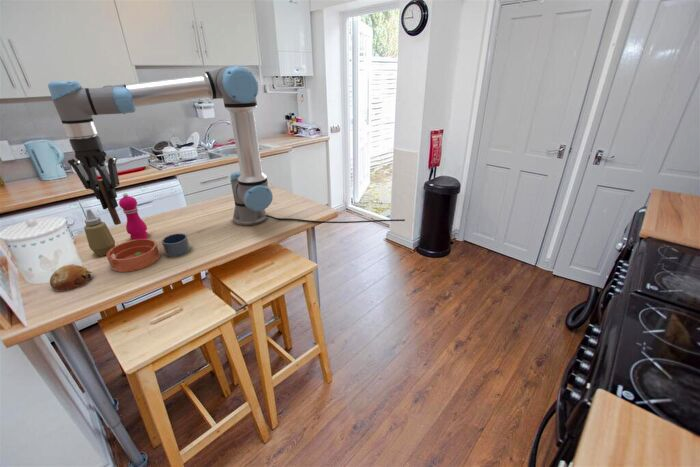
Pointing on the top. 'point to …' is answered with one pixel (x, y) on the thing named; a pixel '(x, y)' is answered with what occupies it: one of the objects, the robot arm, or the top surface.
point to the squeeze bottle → (98, 235)
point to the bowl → (124, 255)
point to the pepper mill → (133, 218)
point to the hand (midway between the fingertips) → (110, 207)
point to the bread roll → (69, 277)
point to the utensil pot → (176, 245)
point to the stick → (111, 211)
